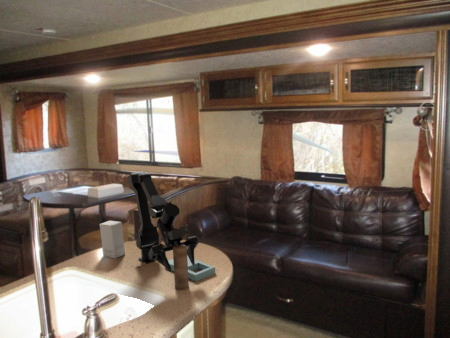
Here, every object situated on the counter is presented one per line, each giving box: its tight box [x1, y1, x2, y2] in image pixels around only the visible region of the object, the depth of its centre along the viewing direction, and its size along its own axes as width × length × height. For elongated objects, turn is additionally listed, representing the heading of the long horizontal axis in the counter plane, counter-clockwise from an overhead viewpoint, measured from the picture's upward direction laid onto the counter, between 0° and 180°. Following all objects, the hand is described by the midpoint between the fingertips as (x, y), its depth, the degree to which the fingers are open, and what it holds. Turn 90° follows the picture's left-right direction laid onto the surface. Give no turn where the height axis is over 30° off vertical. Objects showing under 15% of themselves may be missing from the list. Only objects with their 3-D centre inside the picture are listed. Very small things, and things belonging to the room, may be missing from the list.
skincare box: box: [99, 220, 126, 260], centre depth 163 cm, size 8×7×16 cm
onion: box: [153, 224, 164, 244], centre depth 176 cm, size 10×9×10 cm
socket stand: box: [167, 255, 216, 283], centre depth 144 cm, size 20×10×2 cm, turn 44°
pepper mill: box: [172, 245, 190, 291], centre depth 129 cm, size 5×5×15 cm
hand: (182, 267), depth 128 cm, fingers open, 9 cm apart
